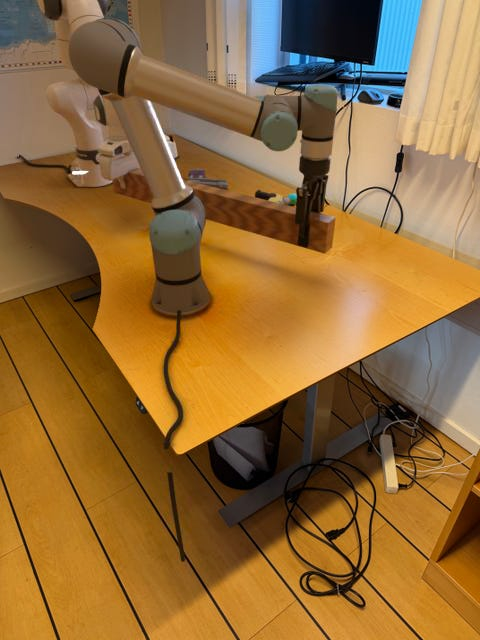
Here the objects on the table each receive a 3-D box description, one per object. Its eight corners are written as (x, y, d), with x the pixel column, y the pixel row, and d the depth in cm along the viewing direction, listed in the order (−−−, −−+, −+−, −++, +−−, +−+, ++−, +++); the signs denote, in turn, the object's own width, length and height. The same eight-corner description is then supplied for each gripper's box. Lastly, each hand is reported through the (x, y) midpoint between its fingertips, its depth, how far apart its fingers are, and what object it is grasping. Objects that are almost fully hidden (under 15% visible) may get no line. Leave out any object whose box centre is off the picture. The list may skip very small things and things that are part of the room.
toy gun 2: (232, 207, 164) (271, 215, 159) (264, 184, 183) (300, 190, 177) (232, 219, 167) (271, 227, 161) (263, 195, 186) (299, 202, 180)
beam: (332, 247, 128) (335, 217, 123) (324, 253, 125) (328, 223, 120) (123, 189, 165) (119, 163, 160) (114, 192, 162) (110, 167, 157)
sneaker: (133, 173, 208) (129, 144, 201) (161, 153, 230) (158, 127, 223) (155, 175, 205) (151, 146, 198) (180, 155, 227) (178, 129, 220)
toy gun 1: (234, 179, 200) (226, 192, 189) (191, 176, 204) (181, 189, 192) (234, 170, 198) (226, 182, 186) (191, 167, 201) (180, 179, 189)
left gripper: (139, 133, 159) (145, 174, 167) (93, 149, 145) (101, 192, 153) (154, 136, 156) (158, 177, 164) (107, 152, 142) (115, 196, 150)
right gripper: (317, 144, 123) (309, 227, 137) (284, 162, 111) (279, 251, 125) (344, 149, 120) (333, 234, 134) (313, 168, 108) (304, 259, 122)
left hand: (130, 184), depth 159 cm, fingers closed on beam, 4 cm apart
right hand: (307, 242), depth 129 cm, fingers closed on beam, 4 cm apart
